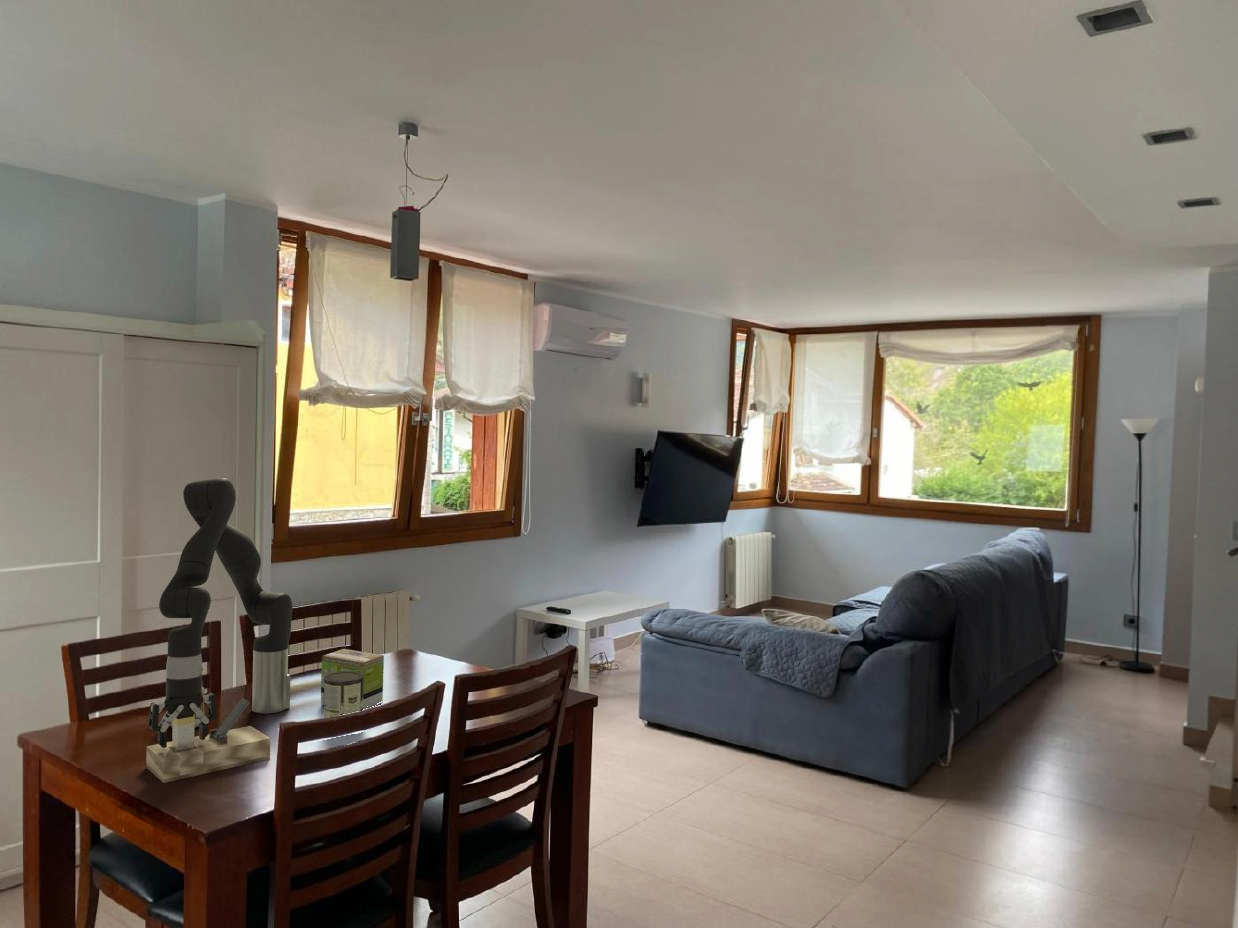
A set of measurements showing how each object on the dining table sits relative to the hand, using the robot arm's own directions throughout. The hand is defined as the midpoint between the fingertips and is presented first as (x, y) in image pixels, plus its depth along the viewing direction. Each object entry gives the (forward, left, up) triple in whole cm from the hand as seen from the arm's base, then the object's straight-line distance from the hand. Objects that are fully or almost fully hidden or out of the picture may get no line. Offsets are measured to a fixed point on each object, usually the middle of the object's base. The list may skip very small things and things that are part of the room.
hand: (183, 742), depth 210 cm
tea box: (-54, -22, -6) cm, 59 cm away
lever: (-12, 0, +3) cm, 12 cm away
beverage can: (-11, -31, -6) cm, 33 cm away
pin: (0, 0, -5) cm, 5 cm away
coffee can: (-42, -4, -6) cm, 43 cm away
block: (-6, 0, -6) cm, 9 cm away
